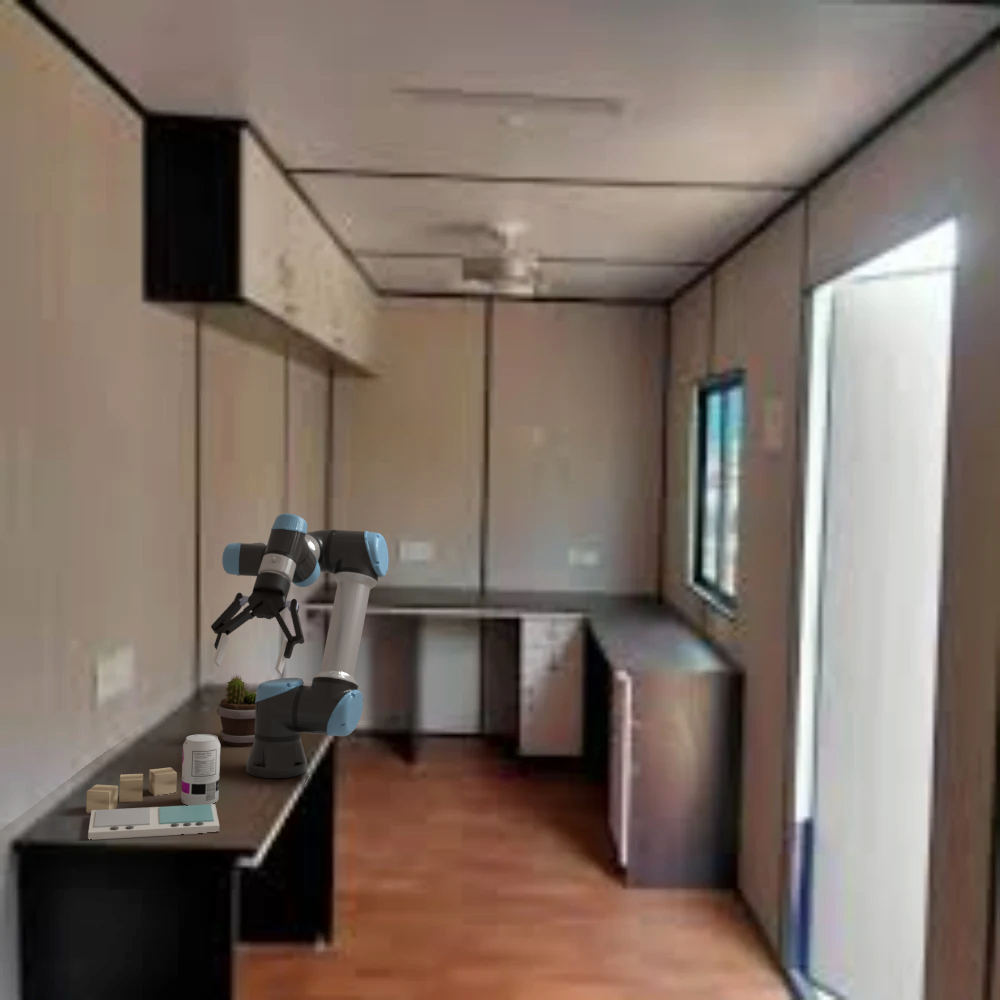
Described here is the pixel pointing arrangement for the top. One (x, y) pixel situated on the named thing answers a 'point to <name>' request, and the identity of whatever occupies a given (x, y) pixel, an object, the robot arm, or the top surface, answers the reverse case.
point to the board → (152, 821)
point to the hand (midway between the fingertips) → (247, 667)
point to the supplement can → (200, 770)
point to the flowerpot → (238, 714)
